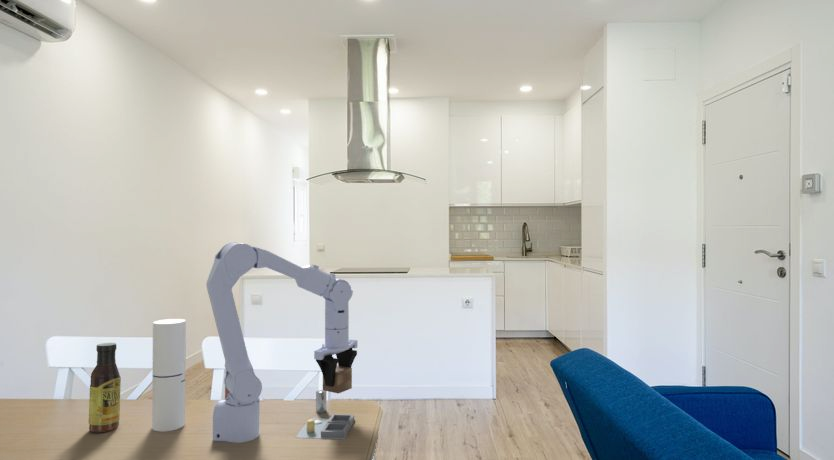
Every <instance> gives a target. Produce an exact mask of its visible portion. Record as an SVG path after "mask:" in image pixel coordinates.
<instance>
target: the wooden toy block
mask: <svg viewBox="0 0 834 460" xmlns="http://www.w3.org/2000/svg"><path fill="white" fill-rule="evenodd" d="M352 369H353V367H351V368H349V367H343V366H338V364H337V366H336V371H335V382H334V386H333V387H330V386H326V385H325V381H324V377H323V376H322V390H324V391H326V392H329V393H333V394H334V393H335V394H341V393H344V392H346V391H348V390H351V389H352V388H353V384H352V383H353V381H352V379H353V377H352V376H353V373H352V372H353V370H352Z"/></svg>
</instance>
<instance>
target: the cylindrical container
mask: <svg viewBox="0 0 834 460" xmlns="http://www.w3.org/2000/svg"><path fill="white" fill-rule="evenodd" d="M186 320H187V319H184V318H183V319H182V318H168V319H167V318H166V319H159V320H155V321H153V322H152V384H151V385H152V386H151V387H152V391H151V392H152V396H151V397H152V398H151V399H152V408H151V410H152V414H151V415H152V416H151V417H152V419H151V429H152V430H153V431H155V432H171V431H174V430H179V429H182V428H183V427H184V426H185V425H186V375H187V373H186V371H187V370H186V368H187V367H186V361H187V360H186V358H187V357H186V348H187V347H186V345H187V344H186V339H187V337H186V336H187V335H186V332H187V331H186V330H187V329H186V328H187V327H186V326H187V325H186V324H187V322H186Z"/></svg>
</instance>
